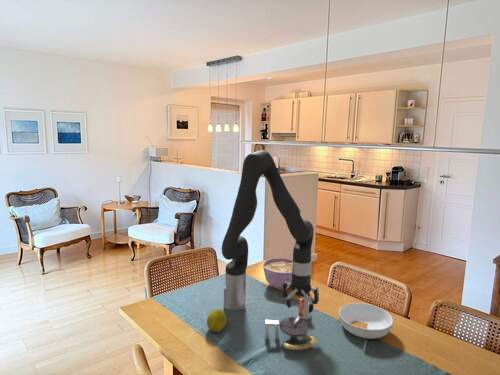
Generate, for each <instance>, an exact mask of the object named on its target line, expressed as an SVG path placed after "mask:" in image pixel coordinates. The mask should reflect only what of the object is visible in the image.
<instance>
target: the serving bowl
mask: <svg viewBox="0 0 500 375" xmlns="http://www.w3.org/2000/svg"><path fill="white" fill-rule="evenodd" d="M338 318H339V321H340V323H341V325H342V327H343V328H344V329H345V330H346V331H347V332H348V333H350V334H352V335H353V336H357V337H358V338H362V339H369V340H370V339H372V340H373V339H380V338H383V337H385V336H386V335H388V334H389V333H390V331H391V329H392V328H393V324H394V319H393V317H392V315H391V314H390V313H389V312H387V310H385V309H383V308H381V307H379V306H376V305H374V304H369V303H363V302H352V303H347V304H345V305H343V306H341V307H340V308H339V310H338ZM353 322H360V323H362V324H363V323H364V324H367V325H366V328H365V327H360V326H356V325H354V324H352V323H353Z"/></svg>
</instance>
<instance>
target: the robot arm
mask: <svg viewBox="0 0 500 375" xmlns="http://www.w3.org/2000/svg"><path fill="white" fill-rule="evenodd" d="M262 176H264V178H265V179H266V181H267V183H268V184H269V187H270V190H271V194H272V198H273V199H272V200H273V201H274V204H275V206H276V208H277V209H278V212H279V213H280V215H281V216H282V217H283V219H284V220H285V223H286V226H287V228H288V230H289V232H290V234H291V236H292V238H293V239H294V240H295V244H294V246H293V249H292V260H293V262H292V280H291V283H288V281H286V282H285V283H284V284H283V289H282V294H281V295H282V296H281V297H282V298H285V299H286V306H287V308H288V309H291V307H292V297H293V296H294V295H295V296H296V297H301V298H302V297H305V298H306V300H308V305H309V313H311V314H312V312H313V311H314V305H318V303H319V299H320V297H319V293H320V292H319V287H318V286H317V287H316V286H315V287H313V286H311V282H312V281H311V280H312V279H311V278H312V245H313V240H314V225H313V224H312V223H311V222H310V220H309V221H308V220H307V219H306V220H305V219H303V217H302V216H301V209H300V207H299V205H297V202H296V201H295V200H294V198H293V197H292V195H291V193H290V192H289V190H288V188H287V187H286V184H285V182H284V180H283V178H282V176H281V174H280V172H279V169H278V168H277V164H276V162H275V161H274V159H273V157H272V155H271V154H270V152H268V151H267V150H261V149H260V150H257V151H254V152H251V153H249V154H247V155H246V156H245V158H244V160H243V163H242V169H241V177H240V181H239V182H240V183H239V187H238V191H237V195H236V199H235V201H234V204H233V209H232V214H231V217H230V221H229V224H228V228H227V230H226V233H225V235H224V237H223V240H222V243H221V253H222V256H223V258H224V259H225V260H231V261H230V262H228V263H227V264H226V265H225V287H224V288H223V308H224V309H225V310H228V311H244V310H245V309H246V306H247V305H246V301H247V300H246V299H247V298H246V297H247V296H246V295H247V292H246V291H247V289H246V287H247V286H246V285H247V283H246V281H247V280H246V279H247V278H246V277H247V267H248V260H249V245H248V241H247V239H246V238H245V237H244V236H242V235H241V234H242V233H243V232H244V231H245V229H246V228H247V227H248V226H249V225H250V224H251V222H252V221H253V219H254V217H255V215H256V212H257V207H258V197H257V187H258V184H259V181H260V178H261V177H262ZM289 286H290V289H291V291H290V293H288V289H289ZM311 292H312V293H311ZM312 294H313V296H312Z"/></svg>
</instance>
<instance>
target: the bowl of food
mask: <svg viewBox="0 0 500 375" xmlns="http://www.w3.org/2000/svg"><path fill="white" fill-rule="evenodd" d="M292 262H293V259H290V258H286V257H285V258H283V257H282V258H281V257H278V258H276V257H275V258H270V259H267V260H265V261H264V262H263V263H262V268H263V272H264V277H265V280H266V282H267V283H268V284H269V285H270V286H272V287H273V288H275V289H277V290H283V284H284V283H285V282H286V281H288V283H291V280H292ZM289 288H290V289H291V287H290V286H289ZM289 288H288V289H289Z"/></svg>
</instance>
